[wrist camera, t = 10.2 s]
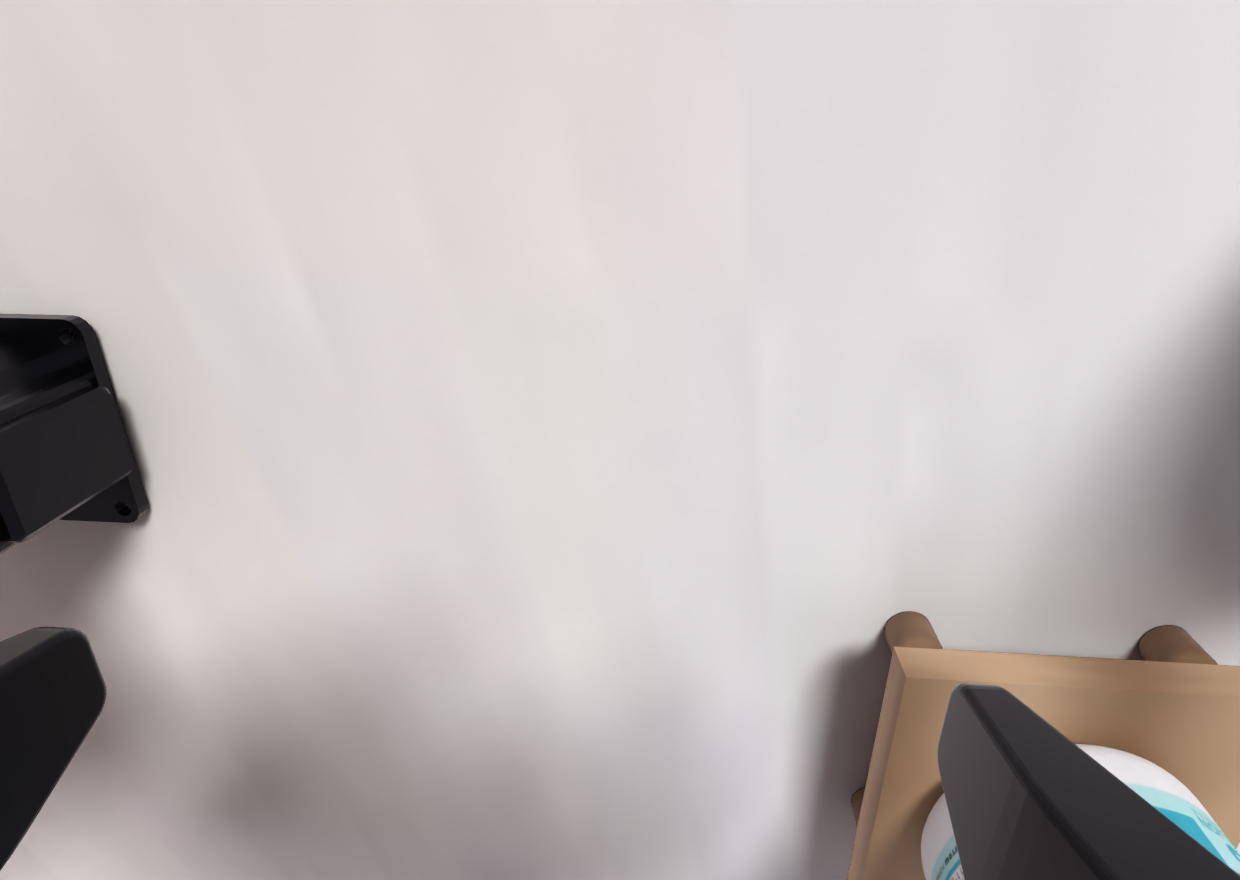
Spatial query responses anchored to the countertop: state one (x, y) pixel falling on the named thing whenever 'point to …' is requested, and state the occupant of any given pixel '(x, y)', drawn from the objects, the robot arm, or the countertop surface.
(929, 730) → the square wooden stand
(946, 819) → the pill bottle
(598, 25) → the countertop surface
